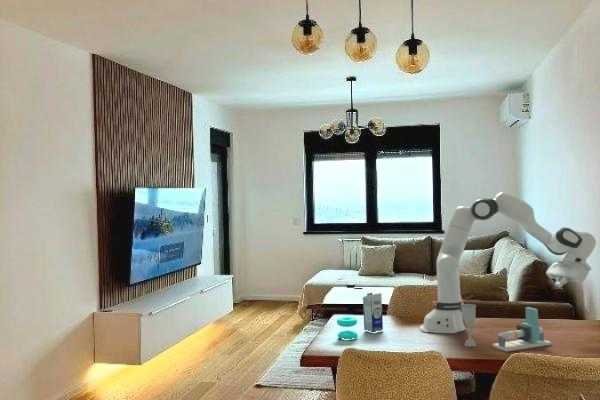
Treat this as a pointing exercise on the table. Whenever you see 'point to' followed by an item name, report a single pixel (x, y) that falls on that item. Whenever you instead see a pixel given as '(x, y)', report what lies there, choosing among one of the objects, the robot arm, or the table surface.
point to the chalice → (469, 320)
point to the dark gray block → (525, 333)
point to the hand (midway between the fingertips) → (557, 286)
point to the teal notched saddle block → (532, 324)
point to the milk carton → (373, 312)
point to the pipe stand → (518, 341)
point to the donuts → (347, 323)
